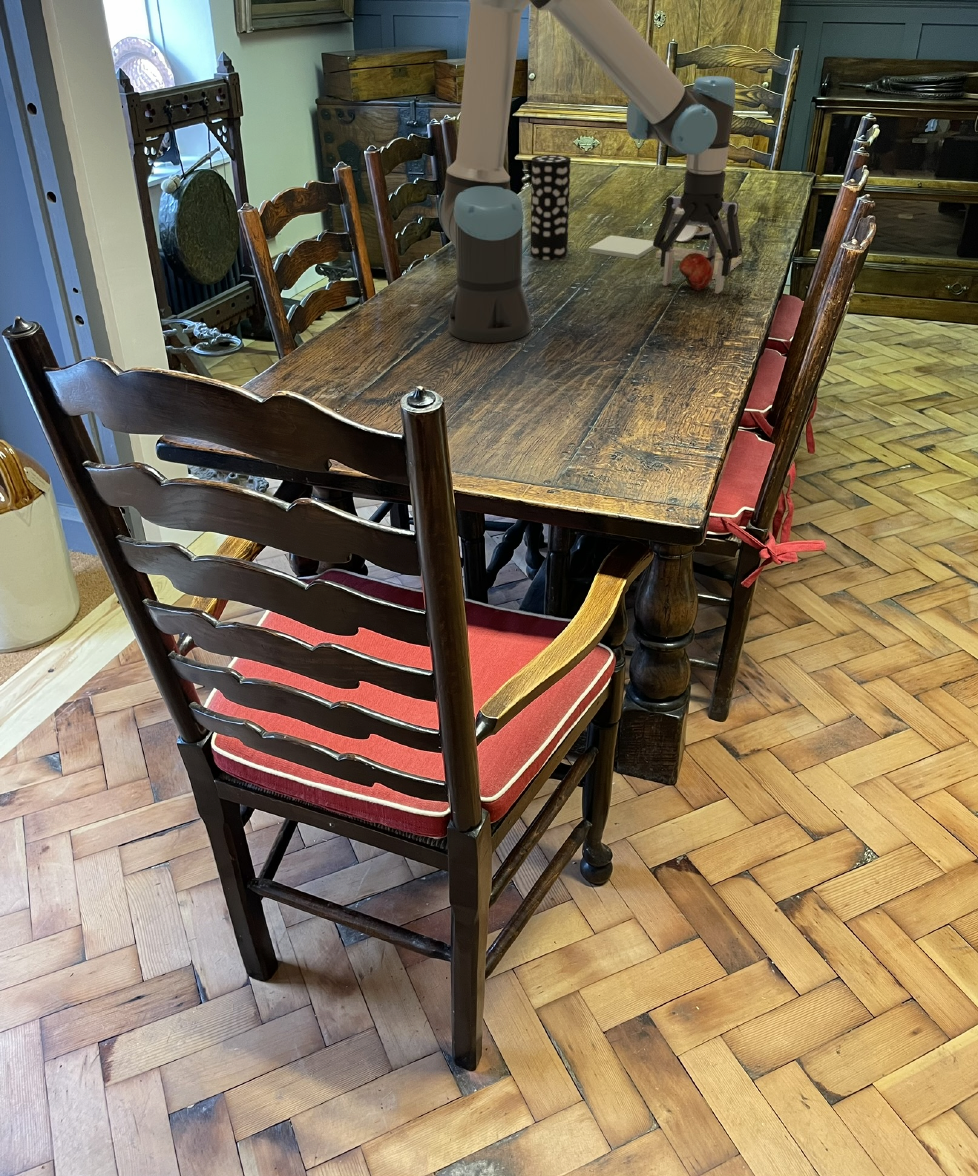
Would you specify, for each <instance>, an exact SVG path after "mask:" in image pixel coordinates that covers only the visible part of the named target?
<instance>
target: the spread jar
mask: <svg viewBox="0 0 978 1176" xmlns="http://www.w3.org/2000/svg"><path fill="white" fill-rule="evenodd" d="M682 195H683V193H682V194H681V195H680V196H679V197H682ZM684 213H685V212H684V210H683V208H682V206H681V204H679V206H678V207H677V208H676V210H675V214H684ZM718 215H719V217H720V215H721V210H720V211H719V213H718ZM676 225H677V224H676ZM676 225H675V226H676ZM711 232H712V230H711V228H707V227H699V226H691V225H686V226H685V228H684V229H683V230H682V232H681V233H680V235H679V236H678V238H677V239H676V240H675V241H677V242H682V243H683V242H689V241H690V240H704V239H708V238H709V235H710V233H711Z"/></svg>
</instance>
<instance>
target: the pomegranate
mask: <svg viewBox="0 0 978 1176" xmlns="http://www.w3.org/2000/svg"><path fill="white" fill-rule="evenodd" d="M713 258H715V256H714V255H713V256H711V257H705V256H704V255H702V254H698V253H692V254H689V255H687V256H686V257H685V258H684V259H683V260H682V261H680V263H679V265H678V268H679V269H678V270H679V273H681V274H682V275H683V276H684V277H685V278H684V279H682V281H681V282H679V284H677V285H676V286H675V287H674V288H672V289H673V290H676V289H677V288H679V287H680V286H681V285H683V283H685V282H686V283H687V284H688V285H689V286H690V287H692V288H693V289H694V290H695V291H701V290H702V289H705V288H706V287H707V286H708V285H709V284H710V282H711V281H712V280H713V279H712V277H713V267H712V265H711V260H712V259H713Z"/></svg>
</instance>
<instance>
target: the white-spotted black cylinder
mask: <svg viewBox="0 0 978 1176" xmlns="http://www.w3.org/2000/svg"><path fill="white" fill-rule="evenodd" d="M571 161H572V159H571V157H569V156H566V155H558V154H545V155H544V154H542V155H537V156H533V157H532V158H531V183H530V186H531V187H530V188H531V189H530V190H531V191H530V193H531V195H530V198H531V199H530V256H531V257H532V258H534V259H537V260H542V261H543V260H544V261H554V260H561V259H565V258H566V257H567V256H568V246H569V245H568V243H569V217H570V216H569V215H570V194H571V192H570V191H571V190H570V187H571V185H570V184H571Z"/></svg>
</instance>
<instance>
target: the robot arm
mask: <svg viewBox="0 0 978 1176" xmlns="http://www.w3.org/2000/svg"><path fill="white" fill-rule="evenodd" d="M467 1H468V2H469V4H470V11H469V20H468V30H467V32H468V33H467V41H466V42H467V43H466V52H465V62H464V72H463V81H462V83H463V84H462V91H461V92H462V94H461V102H460V103H461V105H460V113H459V114H460V115H459V124H458V125H459V126H458V137H457V147H456V155H455V156H456V158H455V160H454V162H453V163H451V164H450V166H448V167H447V168H446V173H445V184H444V190H443V192H442V194H441V196H440V199H439V203H438V219H439V224H440V227H441V228H442V230H443V232H444V234H445V235H446V236H447V238H448V239H449V240H450V242H451V244H452V245H453V246H454V248H455V259H456V262H455V264H456V265H455V268H456V290H455V293H454V297H453V300H452V305H451V308H450V311H449V315H448V331H449V333H450V334H451V335H452V336H454V337H455V338H456V339H457V338H458V339H460V340H464V341H467V342H472V343H481V344H484V343H486V344H491V343H492V344H495V343H496V344H497V343H506V342H510V341H515V340H518V339H521V338H524V337H525V336H527V335H528V334H530V332H531V331H532V315H531V311H530V309H529V306H528V303H527V302H528V301H527V299H526V295H525V292H524V288H523V224H524V212H523V203H522V200H521V198H520V196H519V195H518V194H517V193H516V192H514V191H513V190H511V189H510V182H511V176H510V175H509V173H508V172H507V171H506V169H505V167H504V163H505V155H506V144H507V138H508V137H507V136H508V127H509V122H510V113H511V105H512V96H513V89H514V88H513V87H514V80H515V79H514V78H515V73H516V71H515V70H516V62H517V54H518V47H519V38H520V30H521V23H522V14H523V12H524V10H525V9H527V8H528V6H529V5H531V4H532V5H533V6H534V7H535V8H536V10H538V11H548V12H549V13H550V14H551V15H552V16H553V18H555V20H556V21H557V22H558V24H560V25H561V26H562V27H563V28H564V29H565V31H567V32H566V33H568V34H569V35H570V37H572V39H574V41H576V43H577V44H578V45H579V46H580V47H581V48H582V49H583V51H584V52H586V54H587V55H588V56H590V58H591V59H592V60H593V61H594V62H595V64H597V65H598V67H599V68H600V69H601V70H602V71H603V72H604V74H606V75H607V76H608V78H609V79H610V80H611V81H612V82H613V83H614V85H616V86H617V88H618V89H619V90H620V91H621V92H622V94H624V95H625V96H626V98H628V100H629V102H628V104H627V108H626V129H627V132H628V135H629V136H630V138H631V139H633V140H644V141H647V140H657V141H659V142H660V143H663V144H665V145H667V146H668V147H670V148H672V149H674V150H676V151H677V152H678V153H680V154H685V155H686V160H685V167H686V169H687V170H686V171H685V173H684V180H683V181H684V182H683V183H684V184H683V193H682V194H683V195H682V194H681V195H682V197H680V196H677V195H675V194H672V195H670V196H669V197H667V198H666V199H665V200H666V201H665V202H666V203H665V210H664V214H663V216H662V219H661V221H660V224H659V227H658V229H657V232H656V234H655V237H654V239H653V241H654V242H653V246H654V247H656V248H658V249H659V250H660V249H661V258H660V264H659V265H660V267H661V268H663V278H662V286H668V285H669V284H670V283H672V276H673V266H674V260H673V258H674V249H670V248H671V247H672V245H673V243H675V242H676V241H677V240H676V239H677V238H678V236H679V235H680V233H681V232H682V230H683V229H684V228H685V226H686V225H687V223H688V222H689V221H690V220H691V221H692V222H696V221H699V222H701V223H708V225H709V227H710V228H711V230H712V232H713V234H714V237H715V239H716V242H717V247H718V248H719V251H720V252H719V253H721V254H722V256H723V257H722V258H721V259H719V262H718V270H717V278H716V280H715V287H714V294H718V295H719V294H720V293H721V292H722V291H723V289H724V283H725V277H727V276H729V274H730V273H731V272H730V268H731V260H732V258H737V257H741V255H742V254H743V246H742V239H741V233H740V232H741V231H740V226H739V221H738V220H739V219H738V210H739V206H740V205H739V202H737V201H734V202H729V201H725V200H724V192H725V191H724V190H725V184H726V183H725V181H726V172H725V171H724V170H725V169H727V164H728V156H729V149H730V138H731V132H732V124H733V123H732V122H733V117H734V109H735V107H736V104H735V103H736V87H737V86H736V81H735V80H734V79H733V78H731V77H728V76H722V75H721V76H720V75H719V76H718V75H717V76H716V75H714V76H713V75H712V76H710V75H708V76H707V75H706V76H699V77H697V78H696V79H695V80H694V83H693V86H692V90H688V89H687V88H686V87H685V86H684V84H683V83H682V82H681V81H680V80H679V79H678V77H677V76H676V75H675V73H673V71H672V70H671V69H670V68H669V67H668V66H667V64H666V63H665V62H664V61H663V60H662V58H660V56H659V55H658V54H657V53H656V51H655V50H654V49H653V47H651V45H650V44H649V43H648V42H647V41H646V39H645V38H643V36H642V35H641V33H639V31H638V30H637V29H636V28H635V27H634V26H633V24H632V23H631V22H630V21H629V20H628V19H627V17H626V16H625V14H624V13H622V11H621V10H620V9H619V8H618V7H617V6H616V5H615V3H614V2H613V0H467ZM679 204H681V206H682V208H683V210H684V212H685V213H684V214H683V216H682V217H681V218H680V220H679V222H678V224H677V225H676V226H675V228H674V229H673V231H672V232H671V234H670V235H669V237H668V238H667V232H668V228H669V225H670V223H671V220H672V218H673V215H674V213H676V208H677V207H678V206H679ZM722 210H723V211H724V214H725V215H726V220H727V224H728V230H729V236H730V243H731V247H730V244H729V242H728V239H727V237H726V235H725V232H724V230H723V227H722V225H721V220H720V219H721V217H720V216H719V215H718V213H719V211H720V212H721V211H722Z"/></svg>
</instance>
